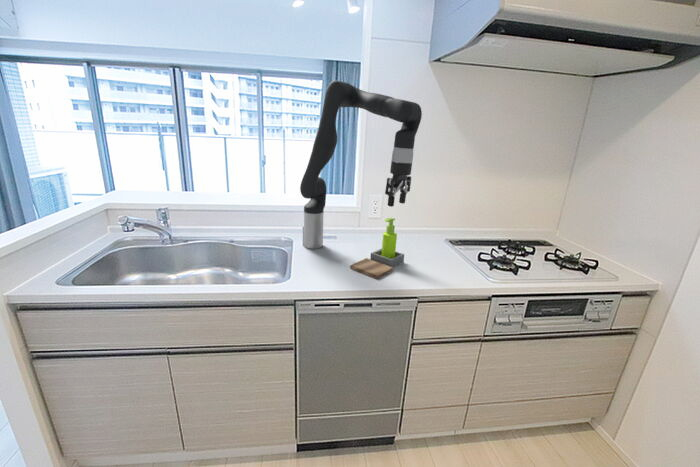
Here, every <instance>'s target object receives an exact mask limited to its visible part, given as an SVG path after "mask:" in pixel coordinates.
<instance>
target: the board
mask: <svg viewBox="0 0 700 467" xmlns="http://www.w3.org/2000/svg"><path fill="white" fill-rule="evenodd" d="M349 269H350V270H353V271H356V272H358V273H359V274H360V273H361V274H362V275H365V276H368V277H371V278H373V279H376V280H379V279H381V278H383V277H384V276H386V275H388V274H390V273H392V272H393V271H394V268H393V267H390V266H387V265H384V264H382V263H379V262H376V261H373V260H370V258H367V257H366V258H364V259H361V260H359V261H357V262H354V263H352V264H350V265H349Z"/></svg>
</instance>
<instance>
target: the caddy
mask: <svg viewBox="0 0 700 467" xmlns="http://www.w3.org/2000/svg"><path fill="white" fill-rule="evenodd" d="M381 255H382V248H379V249H378V250H375V251H373V252H370V258H369V259H370V260H373V261H376V262H379V263H382V264H384V265H387V266H390V267H393V269H394V268H396V267H398V266H400V265H402V264H404V262H405V253H403V252H399V251H396V250H395V257H394V258H392V259H390V258H387V257H384V256H381Z"/></svg>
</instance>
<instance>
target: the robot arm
mask: <svg viewBox="0 0 700 467" xmlns="http://www.w3.org/2000/svg"><path fill="white" fill-rule="evenodd" d="M322 106H323V107H322V111H321V116H320V121H319V125H318V128H317V132H316V136H315V139H314V142H313V146H312V150H311V154H310V157H309V160H308V163H307V165H306V166H307V167H306V168H305V171H304V174H303V176H302V180H301V181H300V186H299V189H300V194H301V196H302V197H303V198H304V199H308V200H309V199H310V200H309V201H308V202H307V203H306V204H304V206H303V225H302V245H303V246H304V248H307V249H311V250H315V249H321V248H322V247H323V246H324V211H325V210H324V209H325V207H326V201H327V200H326V199H327V185H326V184H327V183H326V181H325V180H324V179H323V178H322V177H320V174H321V172H322V171H323V169H324V168H325V166H326V165H327V164H328V163H329V161H330V160H331V159H332V157H333V155H334V154H335V151H336V150H335V149H336V147H337V144H338V133H337V132H338V131H337V126H336V123H337V122H336V120H337V115H338V113H339V109H340V108H357V109H363V110H365V111H367V112H369V113H371V114H375V115H376V116H380V117H384V118H389V119H391V120H393V121H396V122H399V123H402V124H401V127H400V129H399V130H398V131H396V132H395V133H394V135H395V136H394V140H393V141H394V142H393V149H392V153H391V160H390V162H391V163H390V170H389V172H390V174H392V177H387V178H386V185H385V191H384V195H387V196H388V197H387V198H388V199H387V206H388V207H394V205H395V200H396V197H395V196H396V195H397V193H398V192H400V193H399V194H400V195H399V201H398V203H399V204H405V203H406V197H407V194H408V193H409V192H410V191H411V183H412V176H411V174H412V167H413V161H414V160H413V159H414V149H415V148H414V147H415V141H416V135H417V132H418V130H419V127H420V124H421V120H422V115H423V112H422V108H421V105H420V104H419V103H417V102H414V101H409V100H406V99H405V100H404V99H400V98H395V97H393V96H389V95H385V94H381V93H375V92H369V91H364V90H362V89H360V88H359V87H356V86H354V85H352V84H350V83H348V82H345V81H341V80H332V81H331V82H330V83H329V84H328V86H327V87H326V90H325V94H324V101H323V105H322Z"/></svg>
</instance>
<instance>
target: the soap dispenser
mask: <svg viewBox="0 0 700 467" xmlns="http://www.w3.org/2000/svg"><path fill="white" fill-rule="evenodd" d="M395 220H396V218H394V217H387V218H385V219H384V222H385V223H388V225H386V231H385V232H383V234H382V244H381V246H382V247H381V249H382V255H381V256H384V257H387V258H390V259H392V258H394V257H395V251H396V250H397V240H398V239H397V238H398V234H397V233H396V232H395V225H394V221H395Z"/></svg>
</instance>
